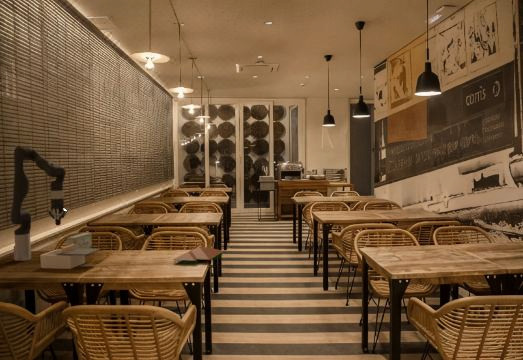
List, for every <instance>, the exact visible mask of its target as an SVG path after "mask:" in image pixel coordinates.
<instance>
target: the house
mask: <svg viewBox="0 0 523 360" xmlns="http://www.w3.org/2000/svg"><path fill="white" fill-rule="evenodd" d="M223 253H224V250H221V249H216V248H213V247H206V246H199V247H196V248H194V249H191V250H188V251H187V252H185V253H183V254H181V255H179V256H177V257H175V258H173V259H172V260H173V262H174V263H173V264H174V265H176V264H177V263H178V265H181V263H182V261H183V263H184V265H187V264H189V265H190V264H191V265H192V262H193V265H194V264H196V265H197V264H198V263H199V260H200V261H206V262H207V263H208V262H209V261H216V260H217V259H219V258H220V257H222V256H223ZM186 263H187V264H186Z"/></svg>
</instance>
